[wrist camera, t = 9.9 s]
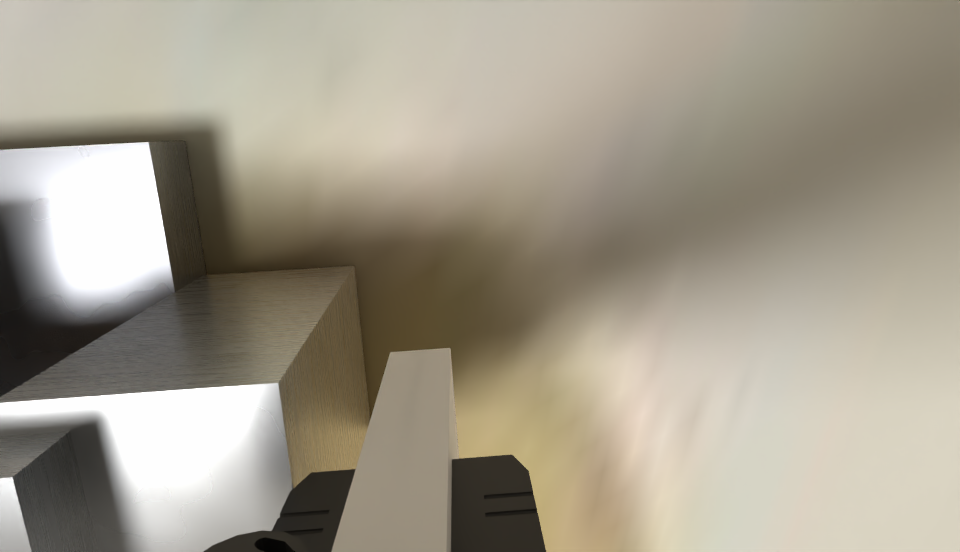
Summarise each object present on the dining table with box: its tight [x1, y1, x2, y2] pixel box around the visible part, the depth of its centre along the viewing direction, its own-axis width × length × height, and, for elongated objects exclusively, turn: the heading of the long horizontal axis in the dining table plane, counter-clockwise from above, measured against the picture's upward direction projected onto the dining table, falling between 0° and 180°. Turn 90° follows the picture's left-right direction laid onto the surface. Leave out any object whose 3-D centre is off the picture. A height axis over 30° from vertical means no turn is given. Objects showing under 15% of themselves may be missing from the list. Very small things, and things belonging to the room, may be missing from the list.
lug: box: [0, 266, 370, 552], centre depth 12 cm, size 5×8×9 cm, turn 93°
